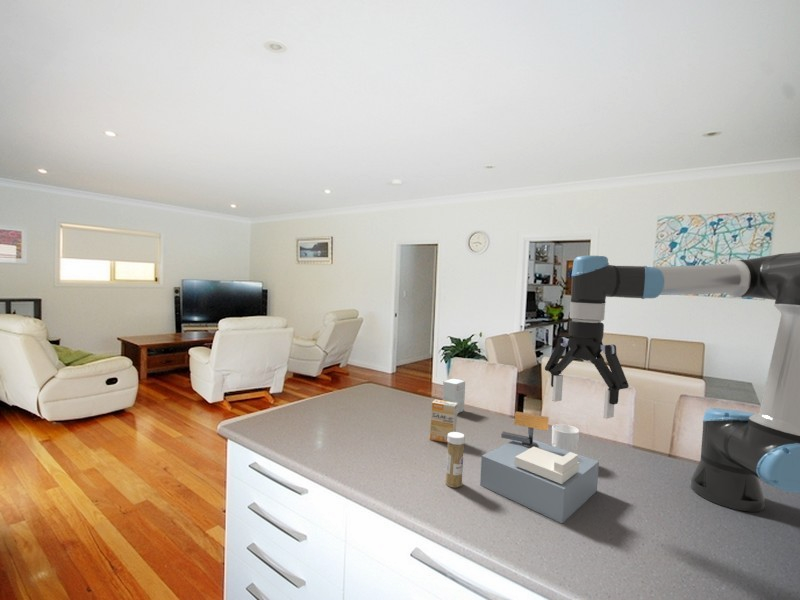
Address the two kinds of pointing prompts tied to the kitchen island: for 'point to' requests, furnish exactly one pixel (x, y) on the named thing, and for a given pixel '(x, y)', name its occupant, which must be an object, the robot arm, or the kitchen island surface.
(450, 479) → the sprinkles bottle
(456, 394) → the small box
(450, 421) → the supplement box
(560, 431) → the white cup
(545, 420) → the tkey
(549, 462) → the cover
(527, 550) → the kitchen island surface
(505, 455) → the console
